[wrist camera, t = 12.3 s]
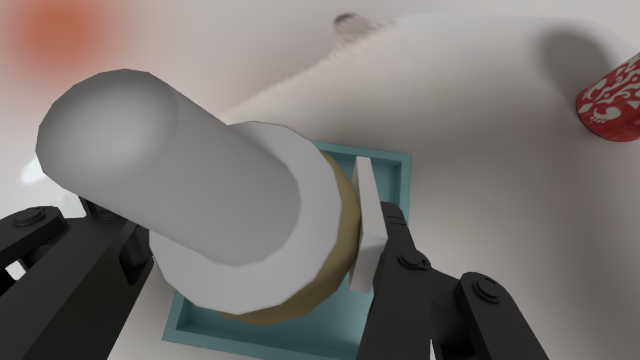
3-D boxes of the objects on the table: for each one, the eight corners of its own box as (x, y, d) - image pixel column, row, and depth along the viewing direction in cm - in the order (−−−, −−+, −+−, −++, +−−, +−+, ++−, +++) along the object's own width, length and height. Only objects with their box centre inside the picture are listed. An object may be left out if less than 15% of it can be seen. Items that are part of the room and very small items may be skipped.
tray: (401, 164, 24) (410, 154, 22) (391, 366, 19) (401, 383, 16) (234, 140, 25) (225, 129, 22) (180, 329, 20) (161, 340, 17)
